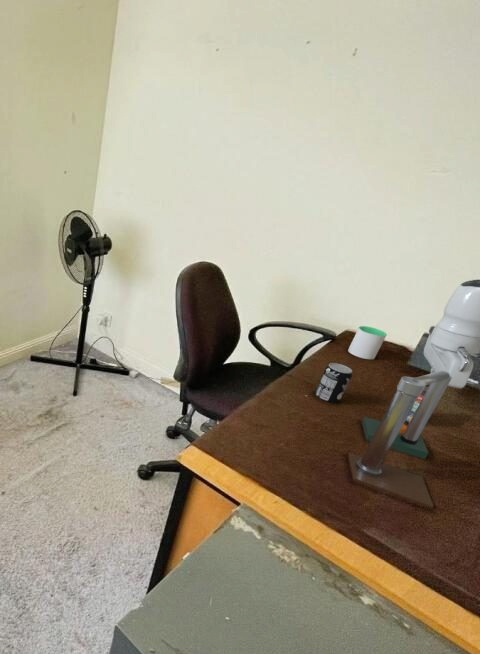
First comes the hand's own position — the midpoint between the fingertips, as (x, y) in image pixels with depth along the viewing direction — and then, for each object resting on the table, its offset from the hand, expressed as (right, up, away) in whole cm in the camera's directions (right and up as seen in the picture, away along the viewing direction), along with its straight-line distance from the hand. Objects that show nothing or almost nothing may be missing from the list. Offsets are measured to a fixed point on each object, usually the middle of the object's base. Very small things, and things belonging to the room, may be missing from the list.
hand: (433, 385), depth 110 cm
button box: (-4, -17, +7) cm, 19 cm away
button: (-4, -14, +6) cm, 15 cm away
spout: (-18, -14, -6) cm, 24 cm away
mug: (+33, +2, +53) cm, 63 cm away
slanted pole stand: (-20, -23, -7) cm, 31 cm away
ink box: (+12, -14, +16) cm, 24 cm away
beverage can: (-7, -9, +25) cm, 28 cm away
